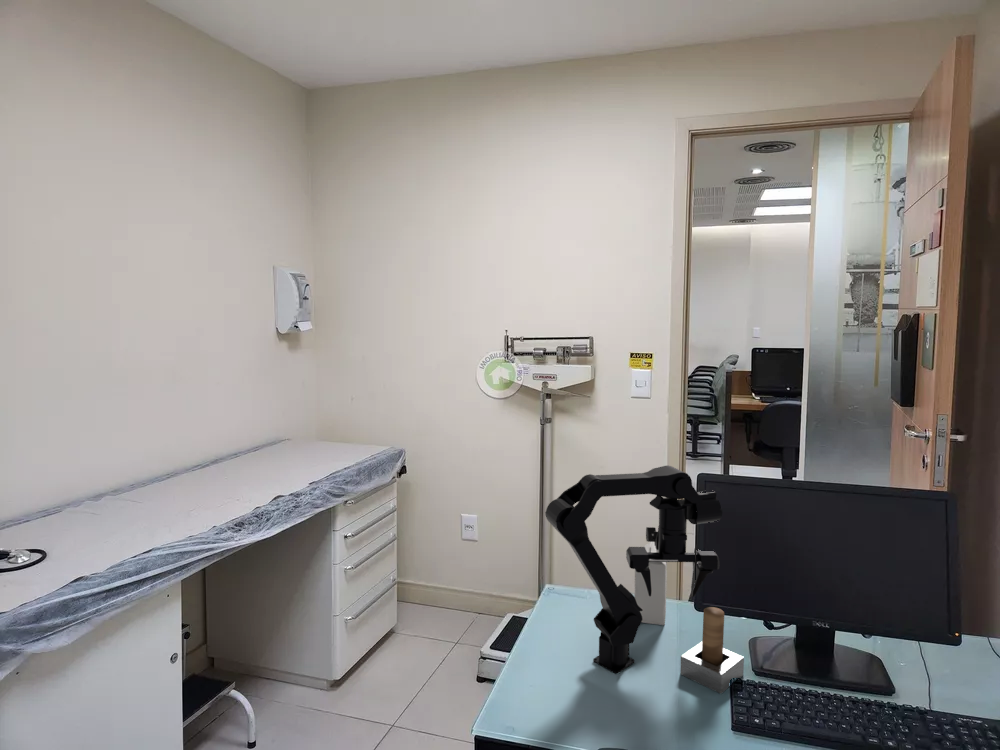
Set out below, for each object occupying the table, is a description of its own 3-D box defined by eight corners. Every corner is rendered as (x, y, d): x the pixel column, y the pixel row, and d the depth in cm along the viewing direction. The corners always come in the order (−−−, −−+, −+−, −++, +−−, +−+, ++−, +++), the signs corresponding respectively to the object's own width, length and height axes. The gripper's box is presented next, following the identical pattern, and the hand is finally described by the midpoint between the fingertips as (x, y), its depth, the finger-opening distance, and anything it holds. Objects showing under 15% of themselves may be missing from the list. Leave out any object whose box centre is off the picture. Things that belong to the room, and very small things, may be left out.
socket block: (721, 693, 123) (721, 674, 123) (680, 674, 130) (680, 655, 129) (743, 675, 129) (743, 656, 129) (703, 657, 136) (703, 639, 135)
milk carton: (634, 622, 151) (634, 545, 149) (636, 608, 158) (637, 535, 156) (664, 626, 149) (666, 548, 147) (665, 612, 156) (667, 538, 154)
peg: (715, 680, 127) (717, 618, 125) (697, 671, 130) (699, 611, 128) (725, 672, 129) (728, 612, 128) (707, 664, 132) (710, 605, 131)
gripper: (706, 513, 142) (704, 579, 144) (623, 513, 143) (622, 579, 145) (721, 531, 131) (719, 603, 133) (630, 531, 132) (629, 602, 134)
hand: (671, 595), depth 136 cm, fingers open, 9 cm apart
